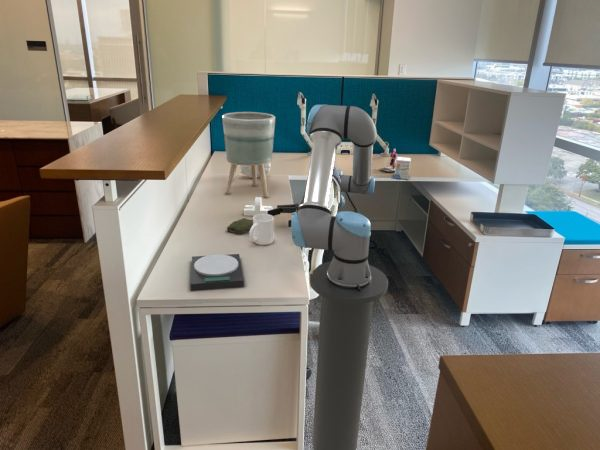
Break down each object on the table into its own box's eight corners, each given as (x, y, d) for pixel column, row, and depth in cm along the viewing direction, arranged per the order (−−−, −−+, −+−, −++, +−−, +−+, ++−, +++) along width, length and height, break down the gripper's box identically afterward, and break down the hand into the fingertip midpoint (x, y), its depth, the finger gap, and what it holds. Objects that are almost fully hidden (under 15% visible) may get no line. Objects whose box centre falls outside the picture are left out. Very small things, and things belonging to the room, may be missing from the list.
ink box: (394, 178, 273) (396, 159, 269) (394, 174, 281) (396, 156, 277) (408, 179, 272) (410, 160, 267) (408, 175, 279) (410, 157, 275)
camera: (240, 175, 268) (239, 149, 262) (269, 175, 270) (270, 149, 264) (240, 180, 258) (239, 153, 252) (271, 180, 260) (271, 153, 254)
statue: (391, 170, 295) (395, 147, 291) (400, 173, 287) (405, 150, 283) (378, 169, 290) (382, 146, 285) (386, 173, 282) (391, 149, 278)
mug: (257, 250, 173) (257, 225, 169) (242, 244, 177) (241, 220, 173) (277, 240, 181) (278, 217, 177) (263, 235, 186) (263, 212, 182)
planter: (276, 199, 228) (278, 120, 213) (224, 200, 224) (222, 119, 209) (271, 184, 253) (272, 112, 237) (224, 185, 249) (222, 111, 233)
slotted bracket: (243, 215, 207) (243, 199, 204) (245, 210, 213) (245, 194, 210) (271, 216, 206) (271, 200, 204) (272, 211, 213) (272, 195, 210)
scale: (243, 286, 147) (243, 278, 146) (190, 290, 143) (190, 281, 142) (239, 259, 165) (239, 251, 164) (192, 262, 161) (191, 254, 160)
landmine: (241, 215, 199) (270, 222, 193) (241, 221, 200) (270, 227, 194) (222, 225, 187) (253, 233, 181) (223, 231, 188) (253, 239, 182)
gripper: (335, 224, 188) (297, 237, 175) (296, 208, 205) (259, 218, 192) (336, 208, 185) (298, 219, 172) (297, 192, 202) (259, 201, 189)
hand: (278, 218), depth 182 cm, fingers open, 13 cm apart
